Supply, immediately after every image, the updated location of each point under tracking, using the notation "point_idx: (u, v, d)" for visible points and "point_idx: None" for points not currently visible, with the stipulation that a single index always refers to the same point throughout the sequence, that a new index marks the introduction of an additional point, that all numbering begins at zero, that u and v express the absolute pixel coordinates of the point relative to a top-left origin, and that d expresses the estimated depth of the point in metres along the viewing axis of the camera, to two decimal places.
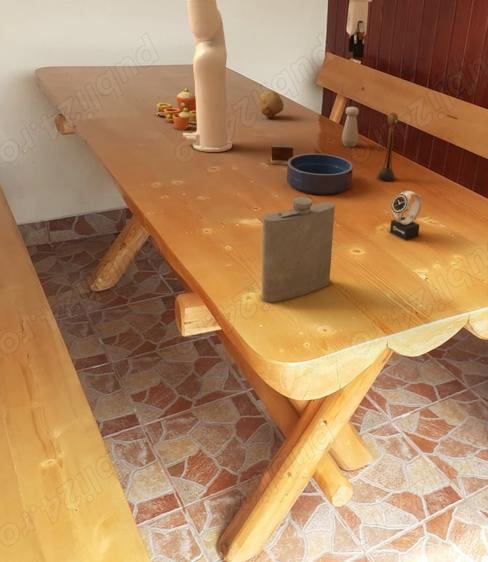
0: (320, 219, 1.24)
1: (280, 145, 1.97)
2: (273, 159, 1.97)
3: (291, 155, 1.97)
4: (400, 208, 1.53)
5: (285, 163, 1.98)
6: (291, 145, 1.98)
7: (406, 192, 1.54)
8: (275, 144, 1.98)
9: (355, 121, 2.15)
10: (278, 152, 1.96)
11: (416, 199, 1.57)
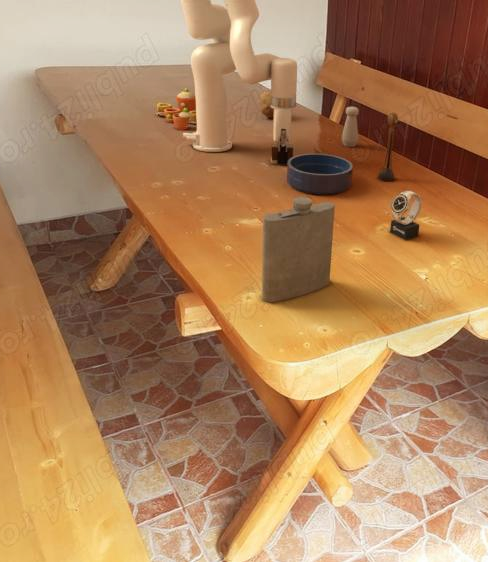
0: (320, 219, 1.24)
1: None
2: (273, 159, 1.97)
3: (291, 155, 1.97)
4: (400, 208, 1.53)
5: None
6: (291, 145, 1.98)
7: (406, 192, 1.54)
8: (275, 144, 1.98)
9: (355, 121, 2.15)
10: None
11: (416, 199, 1.57)
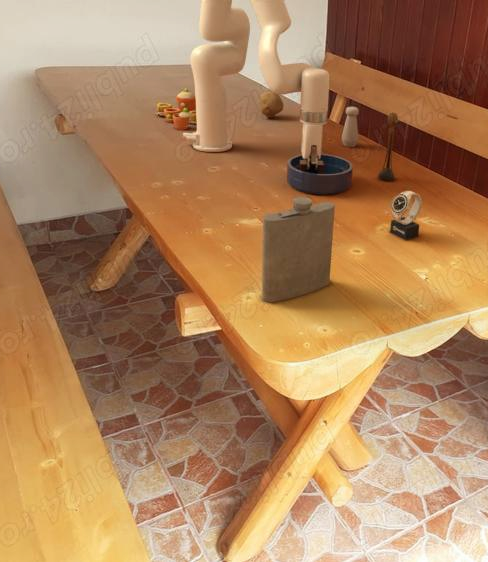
0: (320, 219, 1.24)
1: None
2: None
3: (321, 173, 1.82)
4: (400, 208, 1.53)
5: None
6: (321, 162, 1.83)
7: (406, 192, 1.54)
8: (304, 161, 1.83)
9: (355, 121, 2.15)
10: None
11: (416, 199, 1.57)
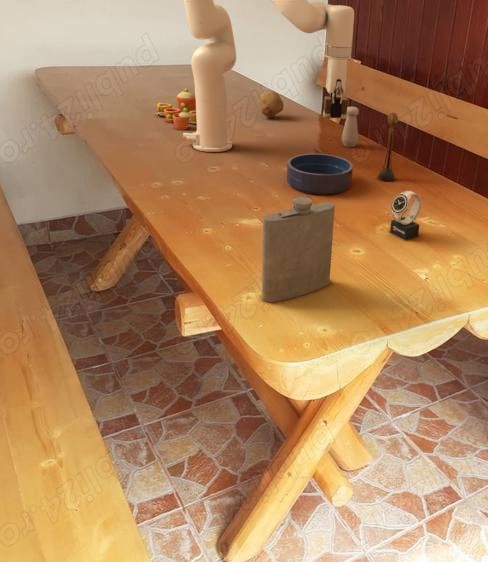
0: (320, 219, 1.24)
1: None
2: (326, 112, 1.92)
3: (345, 108, 1.92)
4: (400, 208, 1.53)
5: None
6: (345, 98, 1.92)
7: (406, 192, 1.54)
8: (328, 97, 1.92)
9: (355, 121, 2.15)
10: None
11: (416, 199, 1.57)
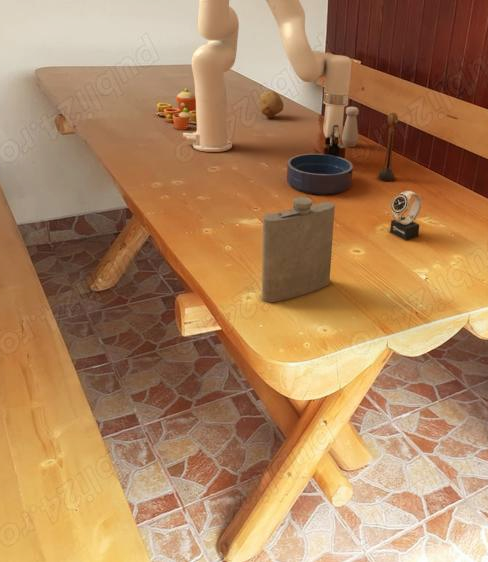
0: (320, 219, 1.24)
1: None
2: None
3: (343, 155, 2.00)
4: (400, 208, 1.53)
5: None
6: (343, 146, 2.01)
7: (406, 192, 1.54)
8: (327, 145, 2.01)
9: (355, 121, 2.15)
10: None
11: (416, 199, 1.57)
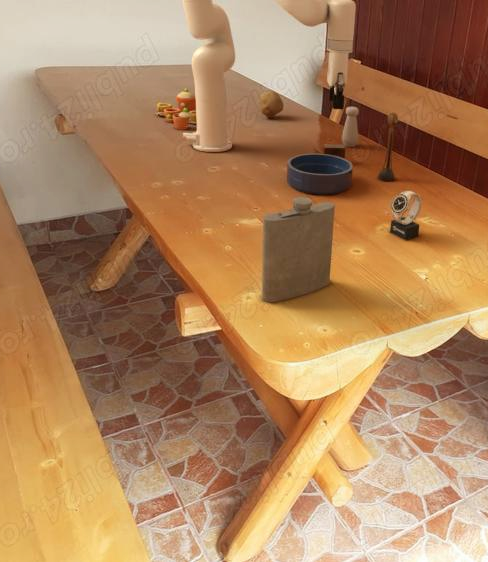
0: (320, 219, 1.24)
1: (333, 146, 2.00)
2: None
3: (343, 155, 2.00)
4: (400, 208, 1.53)
5: None
6: (343, 146, 2.01)
7: (406, 192, 1.54)
8: (327, 145, 2.01)
9: (355, 121, 2.15)
10: (330, 153, 1.99)
11: (416, 199, 1.57)
